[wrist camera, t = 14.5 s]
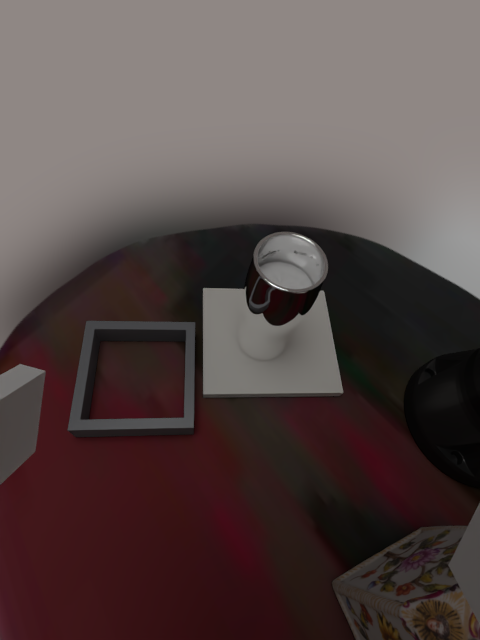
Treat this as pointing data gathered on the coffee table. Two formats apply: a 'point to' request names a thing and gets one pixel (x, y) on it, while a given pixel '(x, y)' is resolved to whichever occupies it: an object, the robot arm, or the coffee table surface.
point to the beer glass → (279, 292)
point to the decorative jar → (409, 591)
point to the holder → (87, 370)
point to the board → (272, 375)
